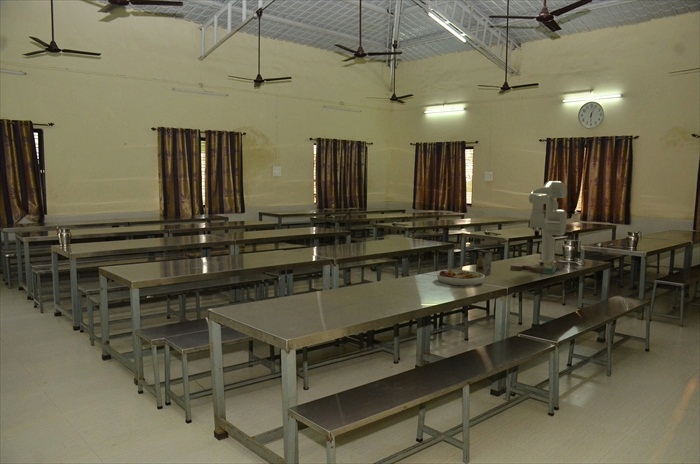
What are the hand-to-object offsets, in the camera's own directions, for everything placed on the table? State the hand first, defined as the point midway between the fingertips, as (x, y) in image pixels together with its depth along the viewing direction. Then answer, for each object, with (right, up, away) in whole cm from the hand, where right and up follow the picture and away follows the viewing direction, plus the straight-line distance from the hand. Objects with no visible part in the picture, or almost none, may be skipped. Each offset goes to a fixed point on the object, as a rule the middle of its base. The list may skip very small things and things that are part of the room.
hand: (536, 236), depth 389 cm
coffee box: (-43, -26, -16) cm, 53 cm away
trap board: (-3, -24, -2) cm, 25 cm away
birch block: (+5, -22, -9) cm, 25 cm away
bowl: (-66, -29, -47) cm, 86 cm away
